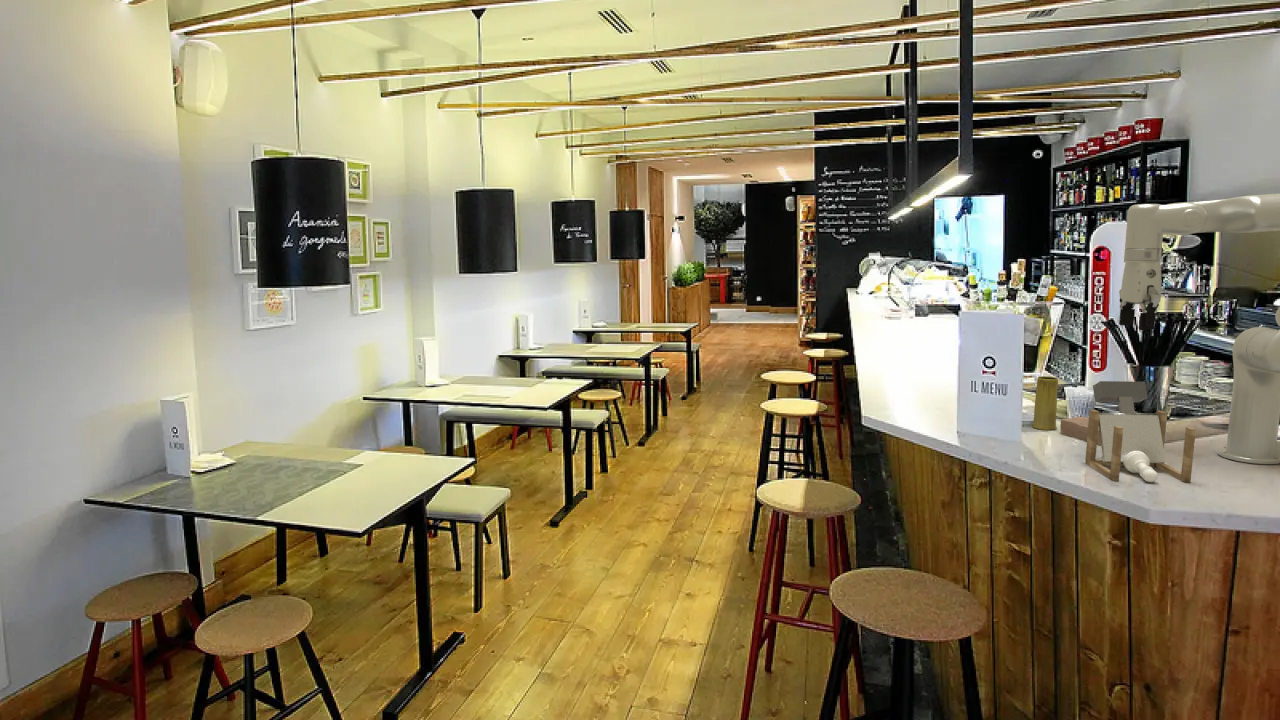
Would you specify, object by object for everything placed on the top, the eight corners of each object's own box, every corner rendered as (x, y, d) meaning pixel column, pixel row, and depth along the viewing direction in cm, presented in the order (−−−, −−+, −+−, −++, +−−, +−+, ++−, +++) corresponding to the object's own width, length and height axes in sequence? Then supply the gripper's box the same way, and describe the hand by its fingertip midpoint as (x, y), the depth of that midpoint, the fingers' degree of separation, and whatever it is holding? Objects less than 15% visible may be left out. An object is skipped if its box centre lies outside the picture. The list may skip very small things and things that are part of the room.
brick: (1135, 446, 205) (1136, 429, 205) (1109, 449, 203) (1110, 431, 202) (1082, 432, 221) (1083, 415, 220) (1058, 434, 219) (1059, 418, 218)
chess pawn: (1151, 458, 182) (1170, 476, 173) (1135, 474, 183) (1153, 492, 175) (1134, 446, 181) (1152, 463, 173) (1117, 462, 183) (1135, 480, 175)
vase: (1057, 426, 226) (1061, 377, 224) (1055, 431, 221) (1059, 380, 218) (1033, 424, 229) (1036, 375, 227) (1030, 428, 224) (1034, 378, 222)
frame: (1156, 464, 188) (1161, 410, 186) (1190, 482, 175) (1196, 424, 173) (1085, 463, 190) (1089, 409, 188) (1113, 480, 176) (1117, 423, 174)
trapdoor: (1086, 385, 193) (1094, 380, 189) (1143, 386, 192) (1152, 381, 188) (1096, 464, 187) (1105, 461, 183) (1155, 466, 186) (1165, 462, 182)
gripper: (1179, 257, 183) (1172, 331, 186) (1140, 255, 200) (1134, 323, 203) (1144, 257, 184) (1137, 331, 186) (1108, 255, 201) (1103, 323, 203)
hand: (1136, 327), depth 194 cm, fingers open, 9 cm apart
